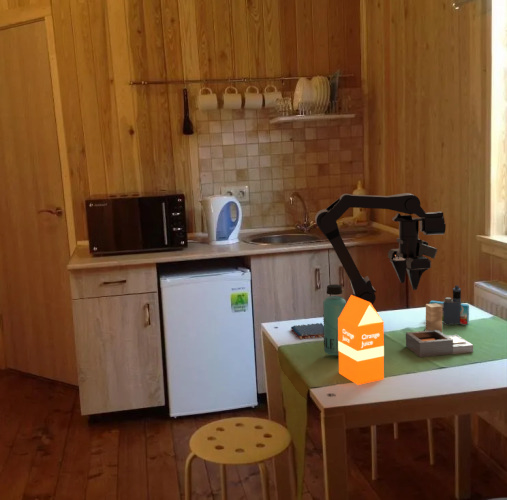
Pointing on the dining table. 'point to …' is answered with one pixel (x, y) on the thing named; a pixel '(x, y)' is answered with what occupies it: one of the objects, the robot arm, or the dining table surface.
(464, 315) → the yogurt
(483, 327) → the dining table surface
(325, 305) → the beverage bottle
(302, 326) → the woven mat
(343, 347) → the orange juice
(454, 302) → the vaping device
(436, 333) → the box
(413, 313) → the dining table surface
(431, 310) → the tan wooden block
